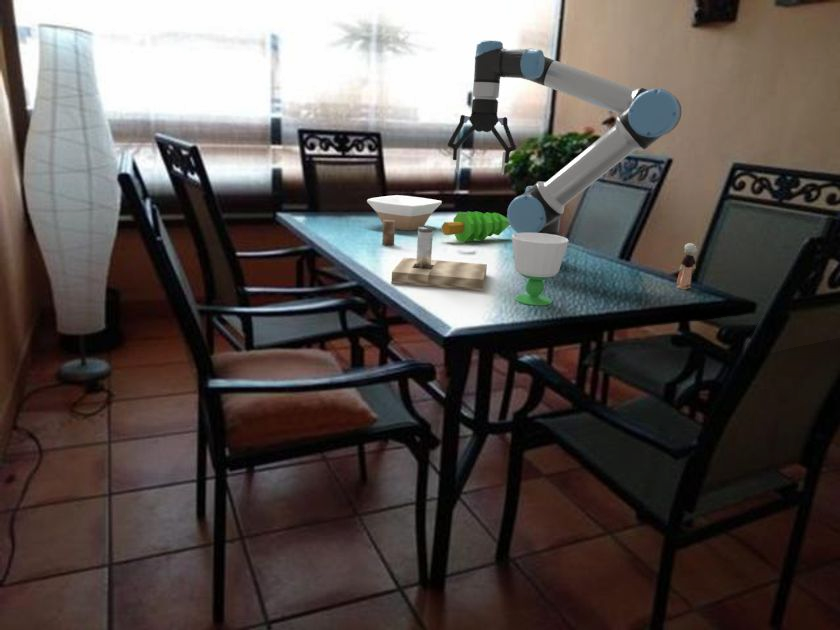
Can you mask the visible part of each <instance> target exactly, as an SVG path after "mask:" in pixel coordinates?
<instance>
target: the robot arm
mask: <svg viewBox="0 0 840 630" xmlns="http://www.w3.org/2000/svg"><path fill="white" fill-rule="evenodd" d="M503 46H504V44H503V42H502V41H498V40H480V41H478V42H477V45H476V48H475V49H476V50H475V56H474V77H473V88H472V97H474V98H473V99H472V101H471V102H472V103H471V114H470V116H469V115H465V114H461V115H460V117H459V122H458V124H457V126H456V128H455V130H454V132H453V133H452V136H451V137H450V138H449V140H448V142H447V146H448V147H449V148H451V149H452V150H453V152H452V160H453V161H456V162H455V172H456V173H458V172H460V162H461V161H460V159H461V149H459V147H461V146H462V144H463V143H464V142H465V141H466V140H467V139H468V138H469V137H470V136H471V134H472V133H473V132H475V131H476V132H478V133H481V132H485V133H490V132H492V134H493V135H494V137H495V138H496V139H497V140H498V142H499V145H501V146H502V148H503V149H504V151H503V152H502V159H501V160H502V161H501V170H500V171H501V173H500V175H501V176H504V175H505V167H506V166H505V165H506V164H509V162H510V155H511V154H510V153H511V152H513V151H516V150H517V146H516V144H515V141H514V138H513V135H512V133H511V130H510V128H509V125H508V118H507V117H506V116H504V117H498V109H499V108H498V107H499V101H498V100H497V99H498V98H499V96H500V86H501V85H500V84H501V78H512V79H513V78H515V79H524V80H527V81H530V82H533V83H536V84H539V85H541V86H545V87H547V88H550V89H552V90H555V91H557V92H559V93H563V94H566V95H567V96H571V97H572V98H575V99H578V100H581V101H583V102H586V103H588V104H590V105H593V106H596V107H599V108H602V109H605V110H606V111H609V112H612V113H615V114H616V115H617V116H616V119H615V124H614V126H612V127H611V128H610V129H609V130H607V131H606V132H605V133H604V134H603V135H602V136H600V137H599V138H598V139H596V140H595V141H594V142H593V143H592V144H591V145H589V146H588V147H587V148H586V149H584V150H583V151H582V152H581V153H580V154H578V155H577V156H576V157H575V158H573V159H572V160H571V161H569V163H567V164H566V165H565V166H564V167H562V168H561V169H560V170H559V171H557V172H556V173H555V174H554V175H553V176H551V177H550V178H549V179H548V180H546V181H536V183H535V184H534V185H528V186H526V188H525V191H524V193H523V194H521V195H518V196H516V197H514V198H513V200H512V201H511V202H510V203H509V205H508V208H507V213H506V218H508V222H509V224H510V225H509V226H510V227H511V228H512V230H513V231H515V232H516V233H546V234H553V235H558V236H559V234H560V233H559V232H560V224H561V216H562V215H563V213H564V211H565V206H566V205H567V204H568V203H569V202H571V201H572V200H574V199H575V198H577V196H578V195H580V194H581V193H582V192H584V191H585V190H586V189H587V188H589V187H590V186H591V185H592V184H593V183H595V182H596V181H598V180H599V179H600V178H601V177H603V176H604V175H605V174H606V173H607V172H609V171H611V169H613V168H614V167H615V166H617V165H618V164H619V163H620V162H622V161H623V160H624V159H626V157H628V156H630V155H631V154H632V153H633V152H635V151H637V150H638V151H645V150H646V149H648V148H649V147H650V146H651V145H652V144H654V143H655V142H657V140H659V139H660V138H661V137H663V136H665V135H666V134H669V133H670V132H672V131H674V130H675V128H676V127H677V126H678V124H679V123H680V120H681V117H682V105H681V103H680V101H679V99H678V98H677V97H676V96H675V95H673V94H672V93H671V92H670V91H668V90H665V89H663V88H651V89H647V88H643V87H638V88H632V87H631V86H630V87H629V86H626V85H623V84H621V83H618V82H616V81H613V80H610V79H607V78H604V77H602V76H599V75H596V74H594V73H591V72H588V71H585V70H582V69H580V68H578V67H574V66H572V65H570V64H566V63H563V62H561V61H557V60H554V59H552V58H549V57H546V56H545V55H544V52H543V51H542V50H541V49H538V48H537V49H535V48H516V49H515V48H508V49H507V48H504V47H503ZM468 121H469V122H470V124H471V126H470V128H468V130H467V131H466V132H465V133H464V134H463V135H462V136H461V137H460V139H458V141H457V142H456V143H455V141H456V139H457V137H458V136H459V133H461V130H462V128H463V126H464V124H466V123H467V122H468ZM498 122H499V123H500V125H501V126H503V129H504V132H505V135H506V136H507V137H506V138H507V139H508V143H509V145H510V146H508V145H507V143H506V142H505V140H504V139H503V137H502V136H501V134H500V133H499V132H498V130H497V129H496V127H495V126H496V125H497V124H498ZM513 259H514V256H513Z"/></svg>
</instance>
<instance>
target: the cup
mask: <svg viewBox="0 0 840 630" xmlns="http://www.w3.org/2000/svg"><path fill="white" fill-rule="evenodd" d="M511 241H512V251H513V257H514V258H513V259H514V268H515V271H516V272H517V273H518V274H519V275H521V276H522V277H523V278H526V279H528V280H527V282H526V284H525V292H526V293H527V294H520V295H517V296H515V301H517V302H518V303H521V304H523V305H528V306H535V307H536V306H537V307H538V306H544V307H545V306H548V305H550V304H552V299H550V297H546V296H543V295H542V294H543V292H544V290H545V284H544V282H543V281H545V280H548V279H549V280H550V279H551V278H553V277H555V276H556V275H558V273H559V272H560V268H561V266H562V263H563V259H564V257H565V255H566V251H567V248H568V245H569V242H570V241H569V239H568V238H567V237H565V236H561V235H559V234H558V235H553V234H546V233H517V232H516V233H514V234H512V235H511Z"/></svg>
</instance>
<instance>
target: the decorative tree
mask: <svg viewBox="0 0 840 630" xmlns="http://www.w3.org/2000/svg"><path fill="white" fill-rule="evenodd" d="M509 226H510V224H509V222H508V218H507V216H504V215H502V214H500V213H498V212H492V213H491V212H487V211H486V212H485V213H483V212H480V211H474V212H473V211H469V210H468V211H467V212H461V211H458V212H457V213H456V215H455V217H453V221H447V222H446V221H445V222H443V224H441V231H442V233H443V235H444V236H451V235H454V236H455V239H456V241H458V242H461V243H465V242H467V241H470V242H474V241H475V240H476V241H479V242H483V241H484V240H485V239H486V238H487V237H492V236H493V235H495V236H500V235H501V234H502V233H503V232H504V231H505V230H506V229H507V228H508V227H509Z"/></svg>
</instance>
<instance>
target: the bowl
mask: <svg viewBox="0 0 840 630" xmlns="http://www.w3.org/2000/svg"><path fill="white" fill-rule="evenodd" d="M442 202H443V201H442V200H440V199H439V200H437V199H432V198H426V197H419V196H411V195H399V194H395V195H386V196H379V197H378V196H377V197H371V198H368V199H367V200H366V203H367V204H368V205H370V207H371V208H372V209H373V210H374V211H375V212H376V214H377V215H378V218H379V219H380V221H381V224H383V220H394V221H395V230H398V229H400V231H406V230H409V231H414V230H418V227H425V225H426V223H427V222H428V220H429V218H430V217H431V215H432V214H433V213H434V211H435V210H437V209H438V207H439V206H440V205H442Z"/></svg>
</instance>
